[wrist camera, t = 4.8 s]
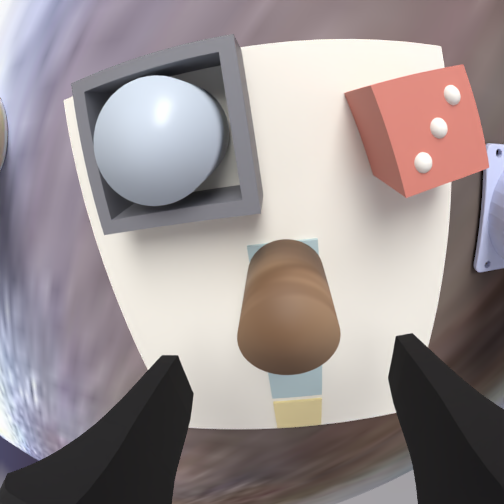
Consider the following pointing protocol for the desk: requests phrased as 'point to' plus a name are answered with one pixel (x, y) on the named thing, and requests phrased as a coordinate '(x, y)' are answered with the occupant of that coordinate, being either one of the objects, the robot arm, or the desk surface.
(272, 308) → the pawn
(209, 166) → the dome
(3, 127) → the coffee cup
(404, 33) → the desk surface
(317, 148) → the board
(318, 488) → the desk surface
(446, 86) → the die
